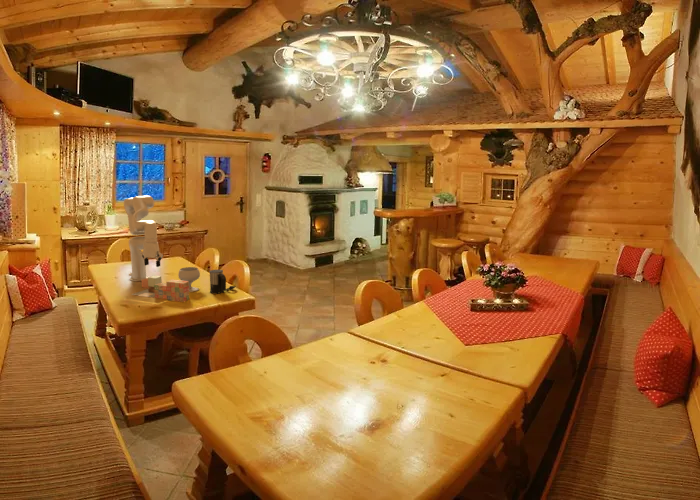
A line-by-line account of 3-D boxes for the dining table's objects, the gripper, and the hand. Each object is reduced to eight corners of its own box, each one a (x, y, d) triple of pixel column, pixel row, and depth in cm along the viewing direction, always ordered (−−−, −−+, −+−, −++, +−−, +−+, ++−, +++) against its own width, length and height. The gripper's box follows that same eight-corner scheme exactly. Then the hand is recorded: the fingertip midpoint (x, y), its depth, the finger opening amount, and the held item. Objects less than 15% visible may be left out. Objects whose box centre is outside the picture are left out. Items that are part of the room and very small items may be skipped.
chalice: (189, 286, 348) (188, 265, 345) (204, 289, 342) (204, 268, 339) (174, 291, 335) (173, 269, 332) (190, 294, 329) (189, 272, 326)
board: (130, 295, 323) (130, 294, 322) (149, 289, 338) (148, 288, 338) (152, 298, 317) (152, 297, 316) (170, 292, 332) (170, 291, 332)
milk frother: (206, 292, 333) (206, 271, 330) (221, 287, 347) (221, 266, 344) (224, 295, 327) (223, 273, 325) (238, 290, 341) (238, 269, 339)
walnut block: (148, 292, 329) (148, 286, 329) (154, 289, 335) (154, 284, 334) (155, 293, 327) (155, 287, 327) (162, 290, 333) (161, 285, 332)
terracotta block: (142, 288, 341) (141, 280, 340) (148, 286, 347) (147, 278, 346) (148, 289, 339) (148, 280, 338) (155, 287, 345) (154, 278, 344)
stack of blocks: (154, 299, 317) (153, 280, 315) (160, 296, 323) (159, 278, 321) (183, 302, 311) (183, 283, 309) (189, 299, 317) (188, 280, 315)
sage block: (148, 286, 329) (147, 277, 328) (154, 284, 334) (154, 275, 333) (155, 287, 327) (154, 278, 326) (161, 285, 332) (161, 276, 331)
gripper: (136, 240, 327) (138, 265, 330) (157, 242, 321) (159, 268, 324) (144, 238, 333) (146, 263, 337) (165, 240, 328) (166, 265, 331)
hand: (152, 265), depth 330 cm, fingers open, 9 cm apart
